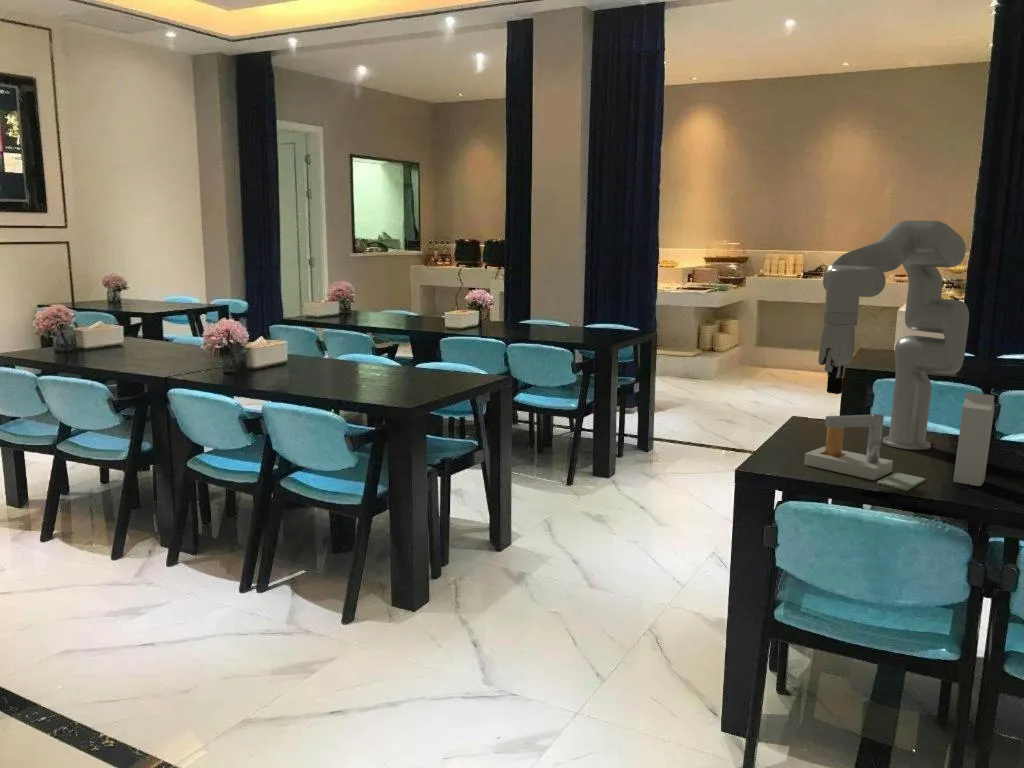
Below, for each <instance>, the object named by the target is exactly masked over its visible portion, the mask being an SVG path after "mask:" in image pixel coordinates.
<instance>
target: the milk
mask: <svg viewBox="0 0 1024 768" xmlns="http://www.w3.org/2000/svg"><path fill="white" fill-rule="evenodd" d="M962 405H963V406H962V411H961V419H960V426H959V434H958V443H957V449H956V457H955V466H954V473H953V481H952V482H953V483H959V484H963V485H968V484H969V486H975V487H979V486H981V487H982V485H983V484H984V482H985V479H986V471H987V464H988V456H989V451H990V445H991V444H990V441H991V436H992V428H993V427H992V426H993V421H994V414H995V413H994V412H995V395H993V394H986V393H984V394H983V393H976V392H966V393H965V399H964V403H963V404H962Z"/></svg>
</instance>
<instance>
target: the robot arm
mask: <svg viewBox="0 0 1024 768" xmlns="http://www.w3.org/2000/svg"><path fill="white" fill-rule="evenodd" d="M966 252H967V247H966V242H965V240H964V239H963V237H962V236H961V235H960V234H959V233H958V232H957V231H956V230H954V229H953V228H952V227H951V226H950V225H948V224H946V223H944V222H942V221H940V220H904V221H903V220H902V221H899V222H897V223H896V224H894V225H892V227H891V228H889V229H888V230H887V231H886V232H885V233H884V234H883V235H882V236H881V237H880V238H879V239H877V241H876V242H874V243H871V244H867V245H864V246H862V247H861V246H860V247H859V248H856V249H853V250H850V251H848V252H846V253H843V254H842V255H840V256H839V257H838V258H836V259H835V260H834V261H832V263H831V264H830V265H829V266H828V267H827V269H826V270H825V272H824V275H823V277H822V286H823V288H824V290H825V291H826V293H825V301H824V302H825V304H824V316H823V317H824V318H823V325H824V326H823V329H822V333H821V338H820V343H819V350H818V351H819V352H818V364H819V365H820V366H823V365H825V366H824V371H825V372H827V375H826V376H827V384H826V385H827V386H826V392H827V393H828V394H834V395H840V394H842V393H843V388H844V387H843V386H844V377H845V374H846V373H845V372H846V368H848V366H849V364H851V363H852V362H853V360H854V354H855V337H856V335H855V334H856V331H855V327H857V326H858V317H859V307H860V306H859V305H860V298H873V297H876V296H878V295H879V294H881V292H882V291H883V290H884V289H885V286H886V282H887V281H886V280H887V278H886V275H885V273H888V272H892V271H894V270H897V269H898V268H899V267H900V266H901V265H902V266H903V269H904V270H905V272H906V275H907V281H908V285H907V294H906V295H907V296H906V302H905V311H904V323H905V326H906V327H907V328H908V329H910V330H913V331H915V332H916V331H917V332H925V333H934V334H935V333H936V334H941V335H943V338H939V337H933V336H923V335H907V336H902V337H901V338H899V340H897V342H896V345H894V346H895V347H894V364H895V378H894V379H895V380H894V389H893V397H892V404H891V405H892V406H891V414H890V415H891V416H890V424H889V425H890V426H889V433H888V435H887V436H883V438H882V443H883V444H885V445H887V446H888V447H893V448H897V449H902V450H911V451H923V450H925V451H926V450H930V449H931V446H932V444H931V442H930V441H928V440H926V438H927V430H928V420H929V412H930V404H931V396H932V382H931V379H930V378H929V376H928V374H927V373H926V372H929V373H930V372H931V373H937V374H938V373H939V374H946V375H953V374H957V373H958V372H959V371H960V370H961V369H962V366H963V363H964V361H965V360H964V359H965V354H966V347H967V338H968V331H969V325H970V324H969V322H970V311H969V308H968V305H967V304H966V303H965V302H963V301H962V300H958V299H950V298H943V297H942V294H943V293H942V292H943V283H944V282H943V277H942V275H941V272H940V270H939V269H938V268H955V267H957V266H959V265H960V264H961V263H962V262H963V261H964V259H965V258H966Z"/></svg>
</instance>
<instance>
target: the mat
mask: <svg viewBox="0 0 1024 768" xmlns="http://www.w3.org/2000/svg"><path fill="white" fill-rule="evenodd" d="M925 481H926V478H924V477H919V476H915V475H910V474H907V473H901V472H896V471H895V472H892V473H891V474H890V475H889V474H888V475H887V476H885V477H882V478H880V479H878V480H877V481H876V484H877V485H879V484H881V485H880V486H884V485H886V486H885V487H888V486H890V487H889V488H893V487H894V488H893V489H897V488H898V489H897V490H901V489H902V491H907V492H908V491H909V490H911V489H913V488H915V487H917V486H918V485H920V484H922V483H924V482H925Z"/></svg>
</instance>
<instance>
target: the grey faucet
mask: <svg viewBox="0 0 1024 768" xmlns="http://www.w3.org/2000/svg"><path fill="white" fill-rule="evenodd" d="M884 420H885V415H883V414H879V413H871V414H852V415H849V414H848V415H829V416H828V415H827V416H825V422H824V427H826V428H827V427H828V428H844V429H845V428H861V427H862V428H864V427H865V428H866V427H867V428H868V438H867V445H866V447H867V448H866V453H865V455H866V461H868V462H879V458H880V455H881V445H882V439H883V438H882V437H883V436H882V435H883V429H884V427H883V426H884Z"/></svg>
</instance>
